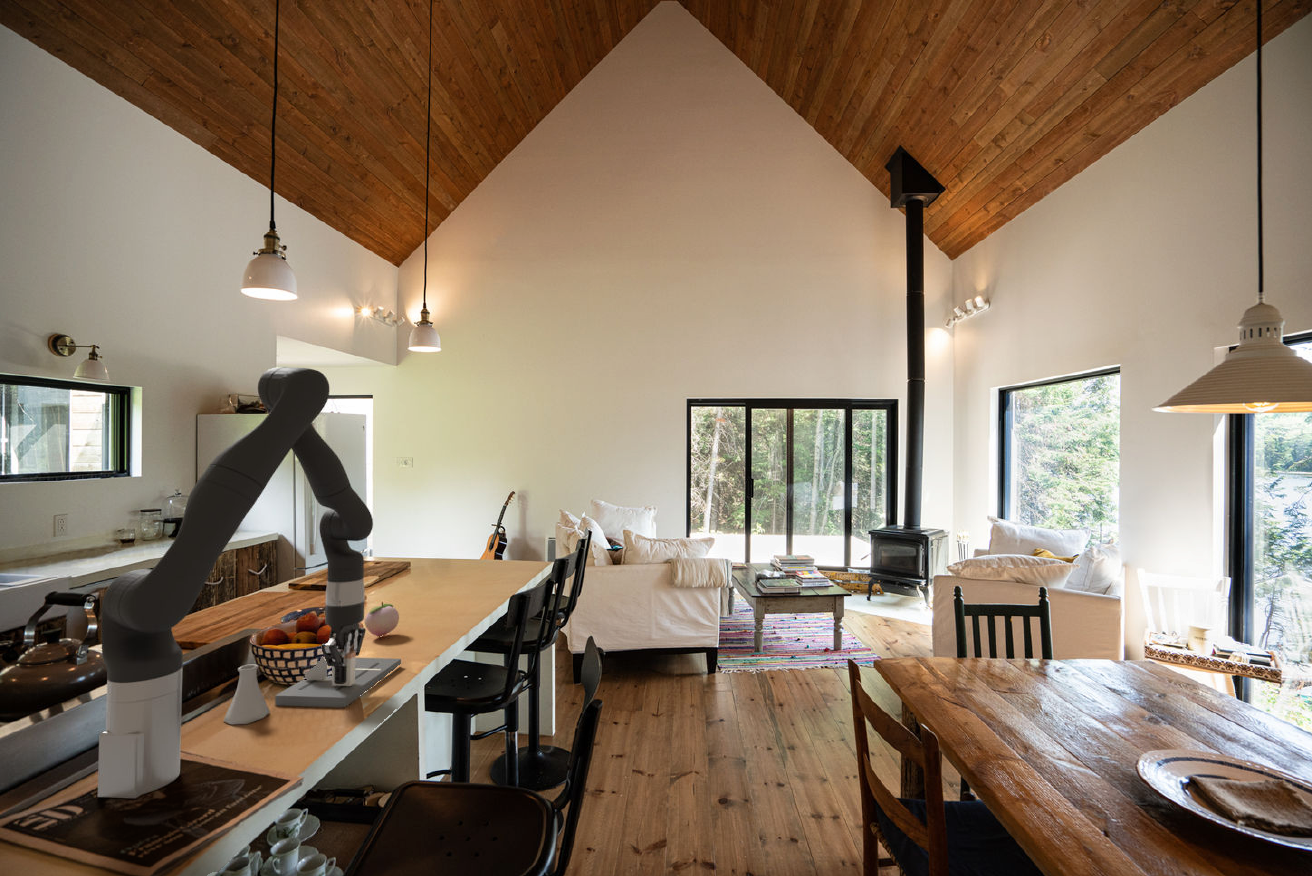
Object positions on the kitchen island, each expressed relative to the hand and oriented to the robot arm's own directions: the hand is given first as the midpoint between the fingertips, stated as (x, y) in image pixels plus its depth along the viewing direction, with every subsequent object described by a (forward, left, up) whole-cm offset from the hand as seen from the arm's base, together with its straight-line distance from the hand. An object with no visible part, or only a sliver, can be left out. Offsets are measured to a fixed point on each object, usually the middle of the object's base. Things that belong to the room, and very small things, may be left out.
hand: (343, 681), depth 133 cm
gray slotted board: (+6, +3, -3) cm, 8 cm away
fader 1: (+3, +8, -1) cm, 9 cm away
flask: (-12, +12, -3) cm, 18 cm away
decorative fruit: (+41, +12, -3) cm, 43 cm away
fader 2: (0, 0, -1) cm, 1 cm away
